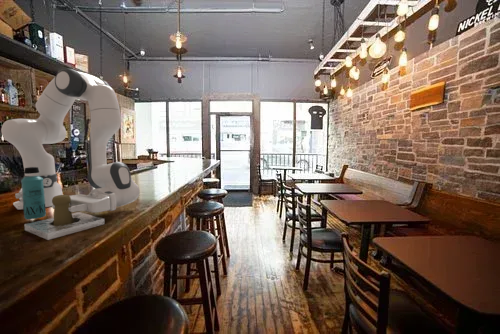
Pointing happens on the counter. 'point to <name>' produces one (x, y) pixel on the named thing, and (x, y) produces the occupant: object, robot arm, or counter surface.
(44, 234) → the jig plate
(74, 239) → the counter surface
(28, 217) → the beverage bottle
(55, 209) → the olive peg doll
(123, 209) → the counter surface
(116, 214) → the counter surface
